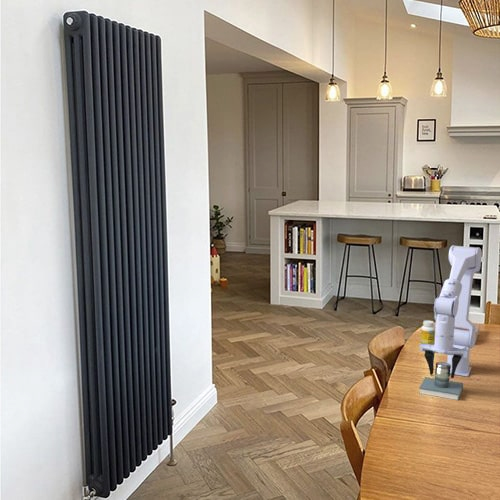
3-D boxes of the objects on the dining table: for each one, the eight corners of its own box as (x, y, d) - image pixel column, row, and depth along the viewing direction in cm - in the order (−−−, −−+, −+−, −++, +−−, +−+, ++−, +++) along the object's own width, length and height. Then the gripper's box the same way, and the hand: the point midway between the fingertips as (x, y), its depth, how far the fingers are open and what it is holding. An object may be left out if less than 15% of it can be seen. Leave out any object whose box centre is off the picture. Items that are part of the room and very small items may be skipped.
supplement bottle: (426, 342, 250) (428, 319, 248) (437, 345, 245) (438, 322, 244) (417, 344, 247) (418, 321, 245) (428, 348, 242) (429, 324, 241)
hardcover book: (425, 383, 207) (425, 377, 206) (462, 390, 201) (463, 383, 201) (418, 394, 198) (419, 387, 197) (458, 401, 193) (458, 394, 192)
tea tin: (435, 381, 202) (437, 360, 201) (450, 384, 200) (452, 363, 199) (432, 386, 198) (434, 365, 197) (447, 389, 196) (449, 368, 195)
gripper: (418, 334, 196) (416, 375, 198) (466, 341, 190) (464, 383, 192) (422, 328, 202) (420, 368, 204) (469, 335, 196) (467, 376, 198)
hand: (442, 375), depth 199 cm, fingers open, 6 cm apart
